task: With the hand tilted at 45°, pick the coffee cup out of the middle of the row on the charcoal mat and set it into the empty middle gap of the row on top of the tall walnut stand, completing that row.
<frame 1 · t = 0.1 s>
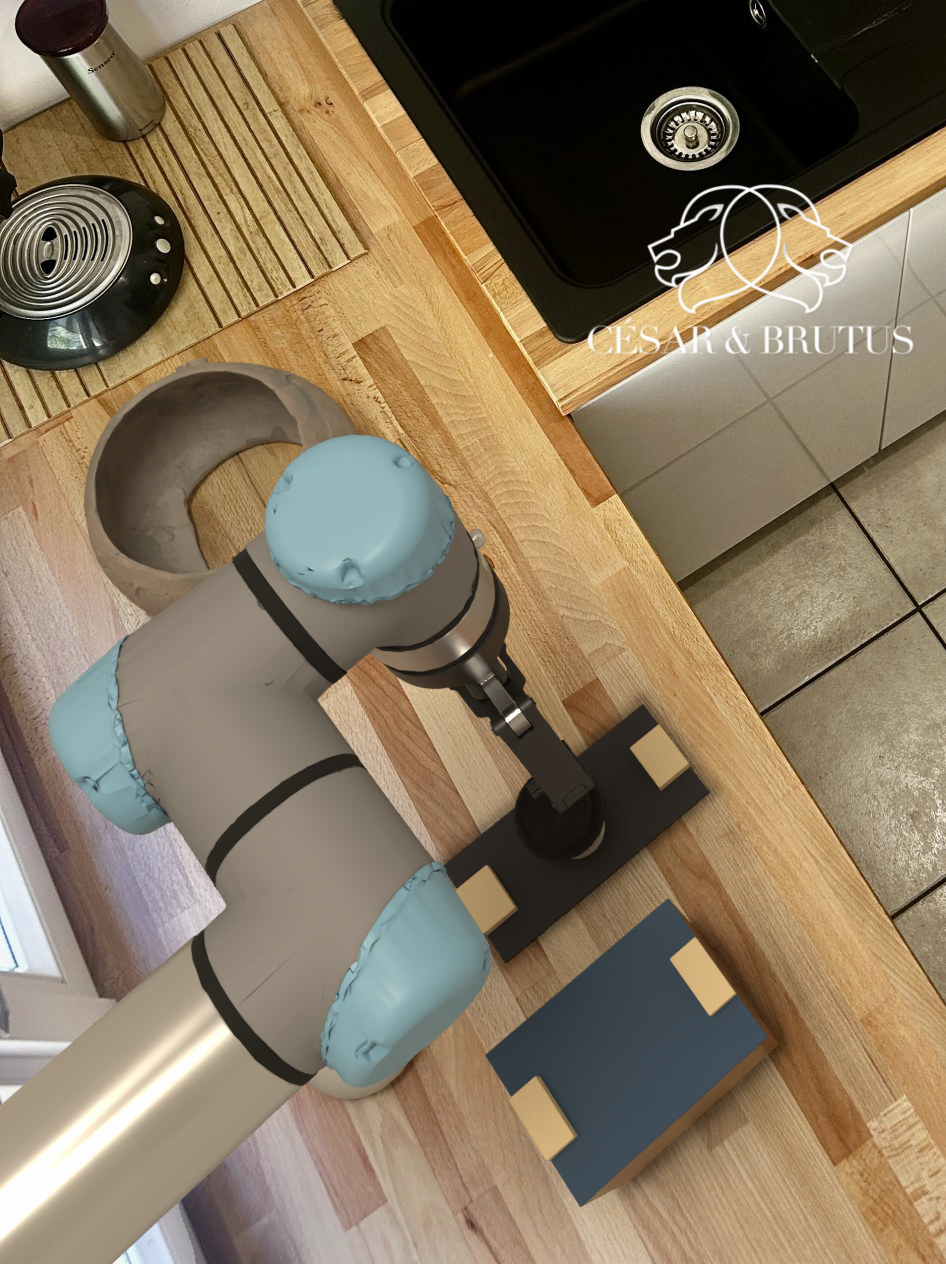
hand: (505, 695, 97), 28 cm above the worktop, tool pointing down, fingers open, 13 cm apart
bowl: (263, 524, 133), on the worktop
tan rounded lumpy piece: (262, 804, 121), on the worktop
coffee cup: (576, 828, 119), resting on mat A
donut: (362, 1024, 113), on the worktop
mat A: (577, 829, 119), on the worktop
stand: (665, 1051, 111), on the worktop
blue slab: (627, 1046, 90), resting on stand
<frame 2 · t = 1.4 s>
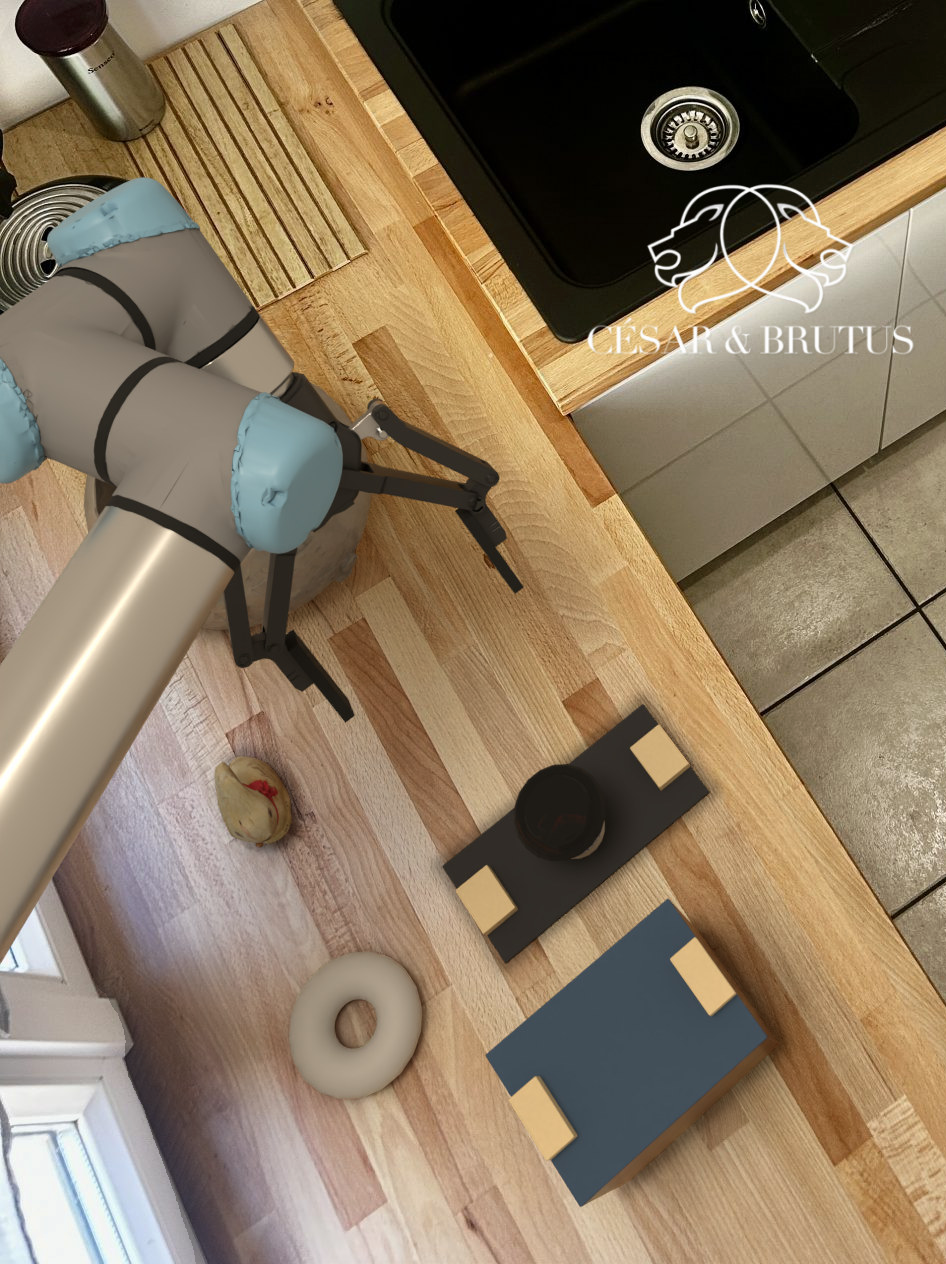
hand: (432, 646, 101), 26 cm above the worktop, tool tilted 45°, fingers open, 13 cm apart
nothing on the worktop moved.
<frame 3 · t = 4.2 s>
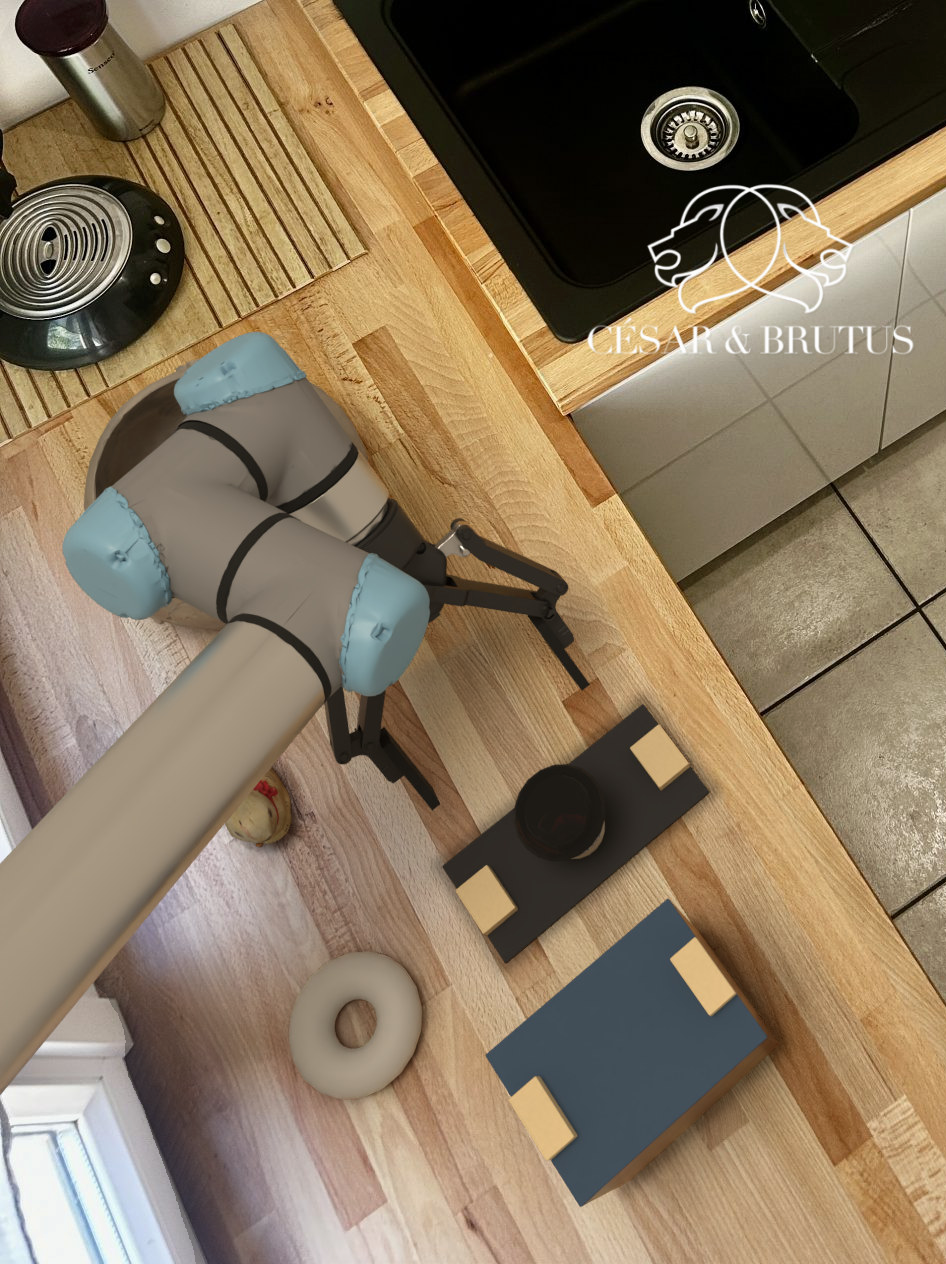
hand: (508, 739, 112), 11 cm above the worktop, tool tilted 45°, fingers open, 13 cm apart
nothing on the worktop moved.
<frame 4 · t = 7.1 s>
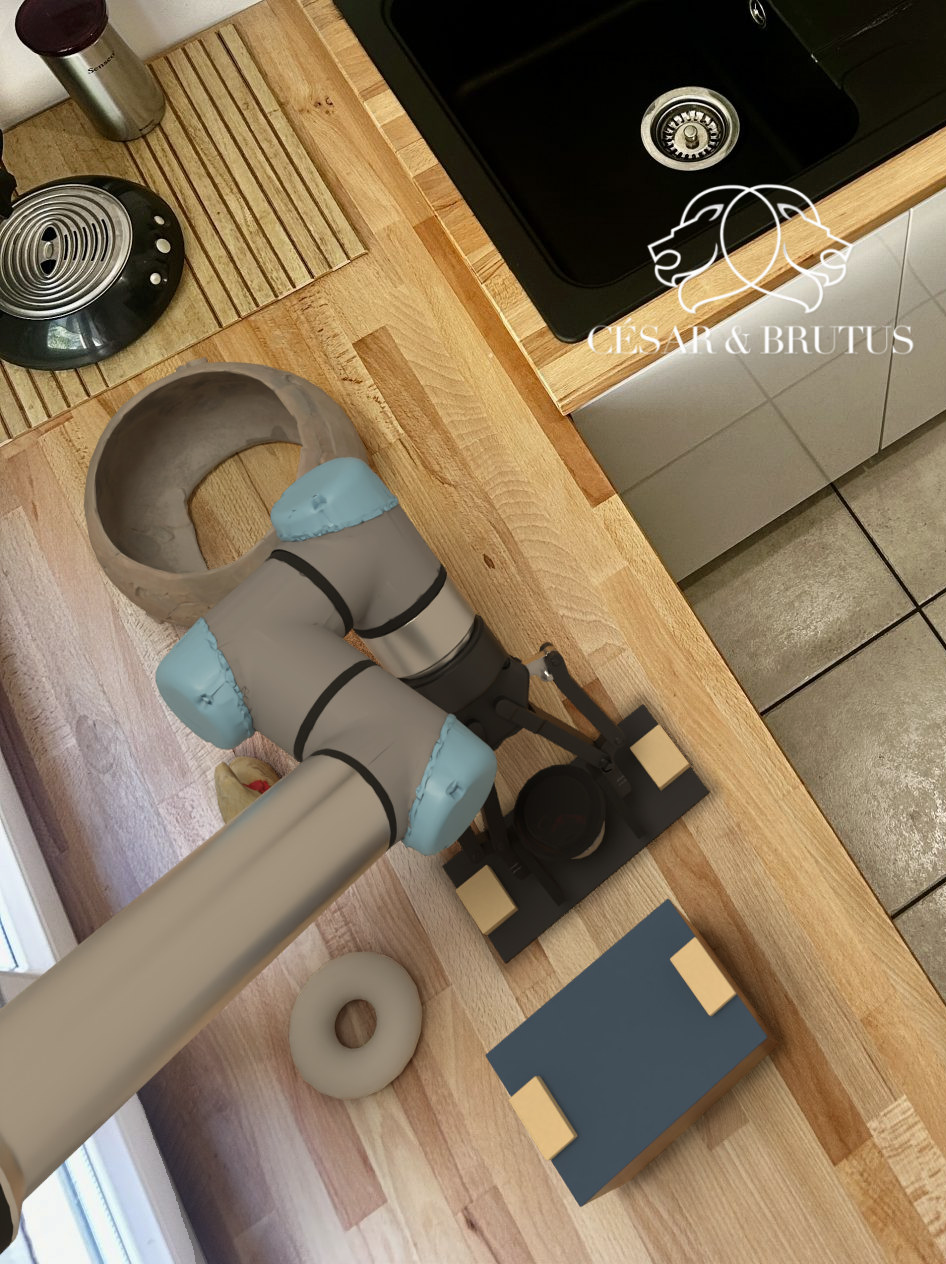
hand: (597, 860, 115), 3 cm above the worktop, tool tilted 45°, fingers closed on coffee cup, 7 cm apart
coffee cup: (576, 828, 119), resting on mat A, touching gripper
everything else where it was.
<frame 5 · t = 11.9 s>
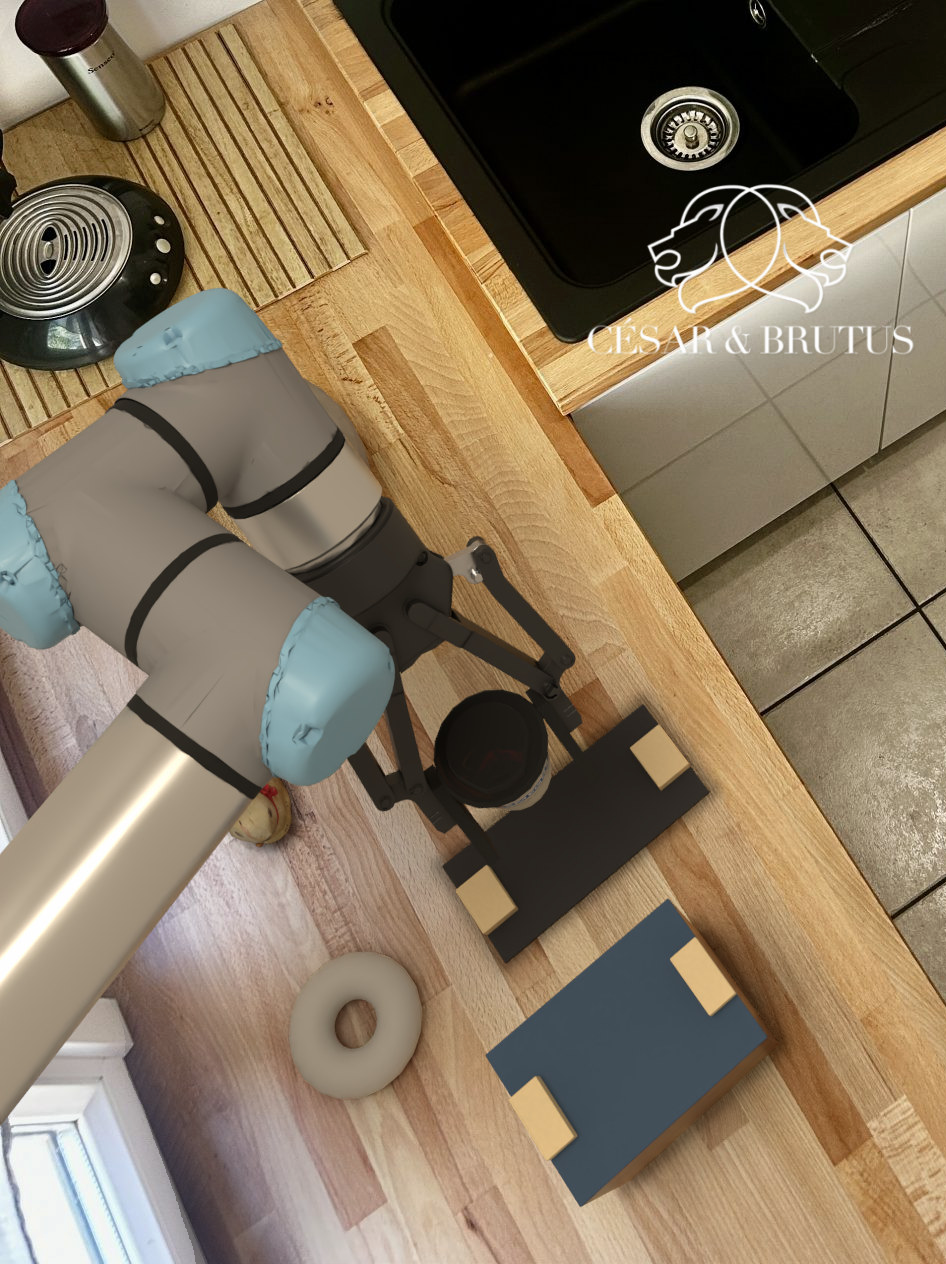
hand: (539, 810, 92), 29 cm above the worktop, tool tilted 45°, fingers closed on coffee cup, 7 cm apart
coffee cup: (517, 774, 97), point 26 cm above the worktop, touching gripper
everything else where it was.
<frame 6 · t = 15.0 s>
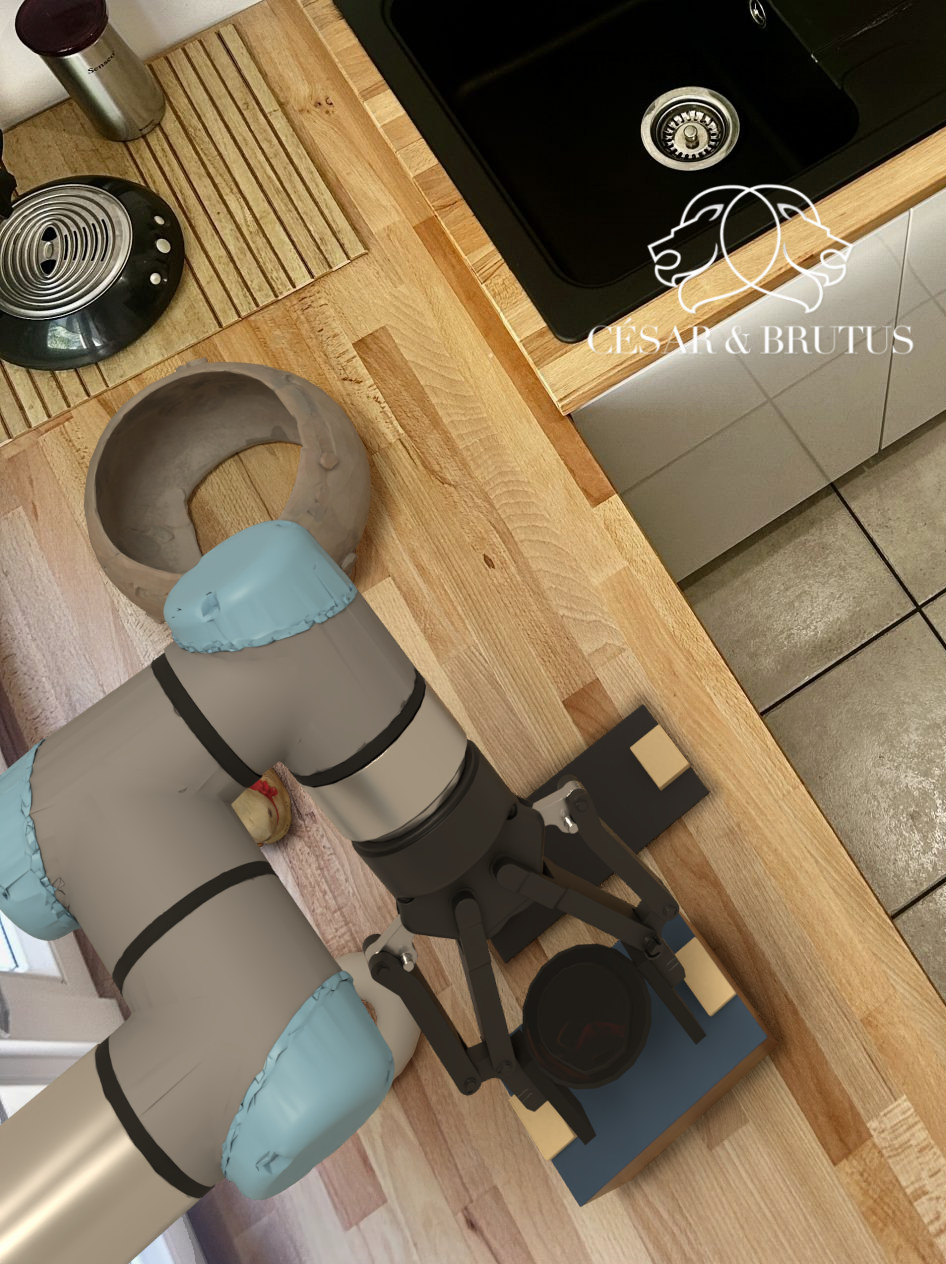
hand: (638, 1073, 82), 32 cm above the worktop, tool tilted 45°, fingers closed on coffee cup, 7 cm apart
coffee cup: (607, 1020, 86), point 29 cm above the worktop, touching gripper
everything else where it was.
when the fingers open (27 cm above the worktop, at t = 17.0 s): coffee cup stays where it is, resting on blue slab.
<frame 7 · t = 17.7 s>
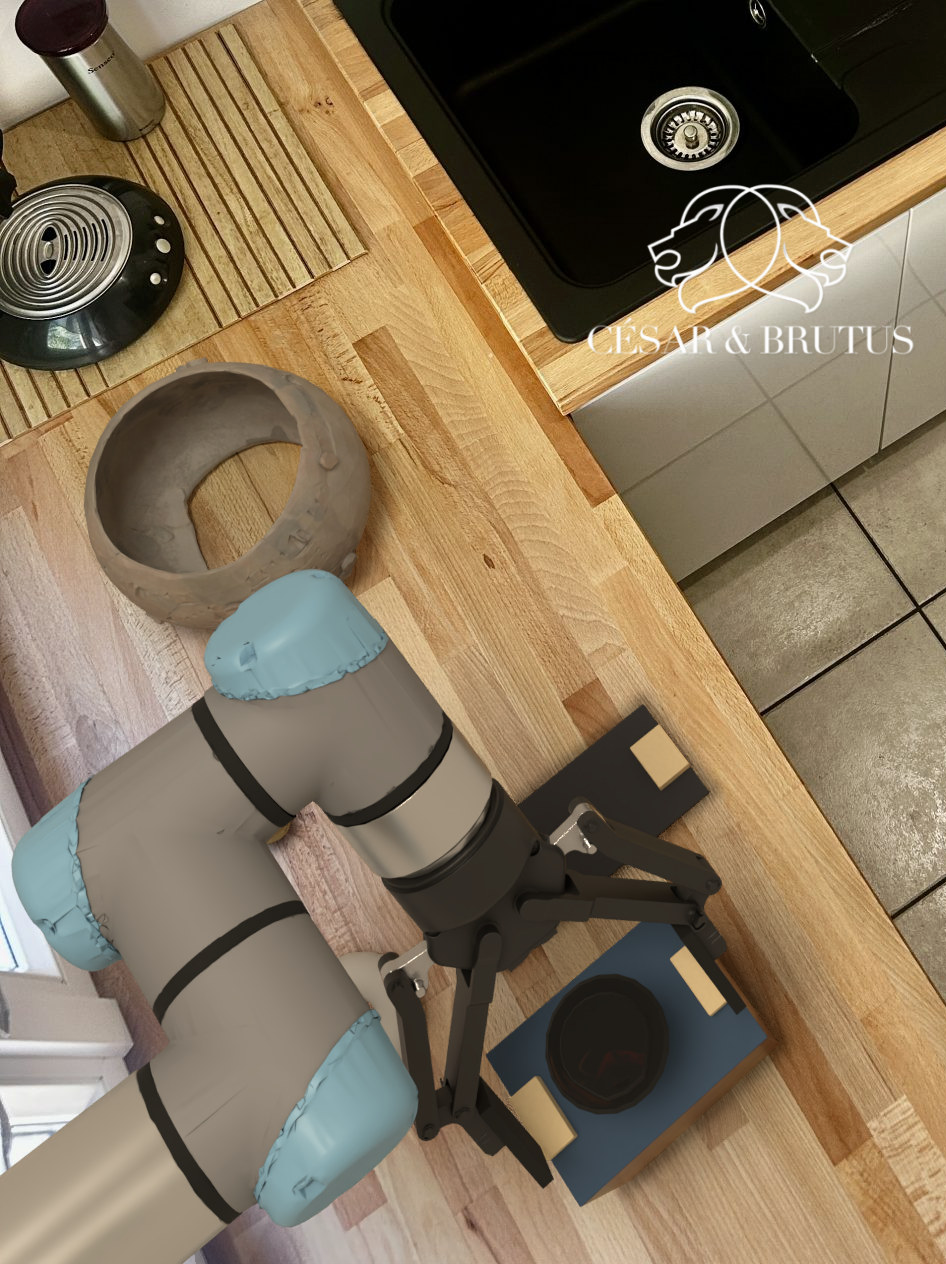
hand: (639, 1081, 85), 29 cm above the worktop, tool tilted 45°, fingers open, 13 cm apart
coffee cup: (625, 1045, 90), point 24 cm above the worktop, touching blue slab
everything else where it was.
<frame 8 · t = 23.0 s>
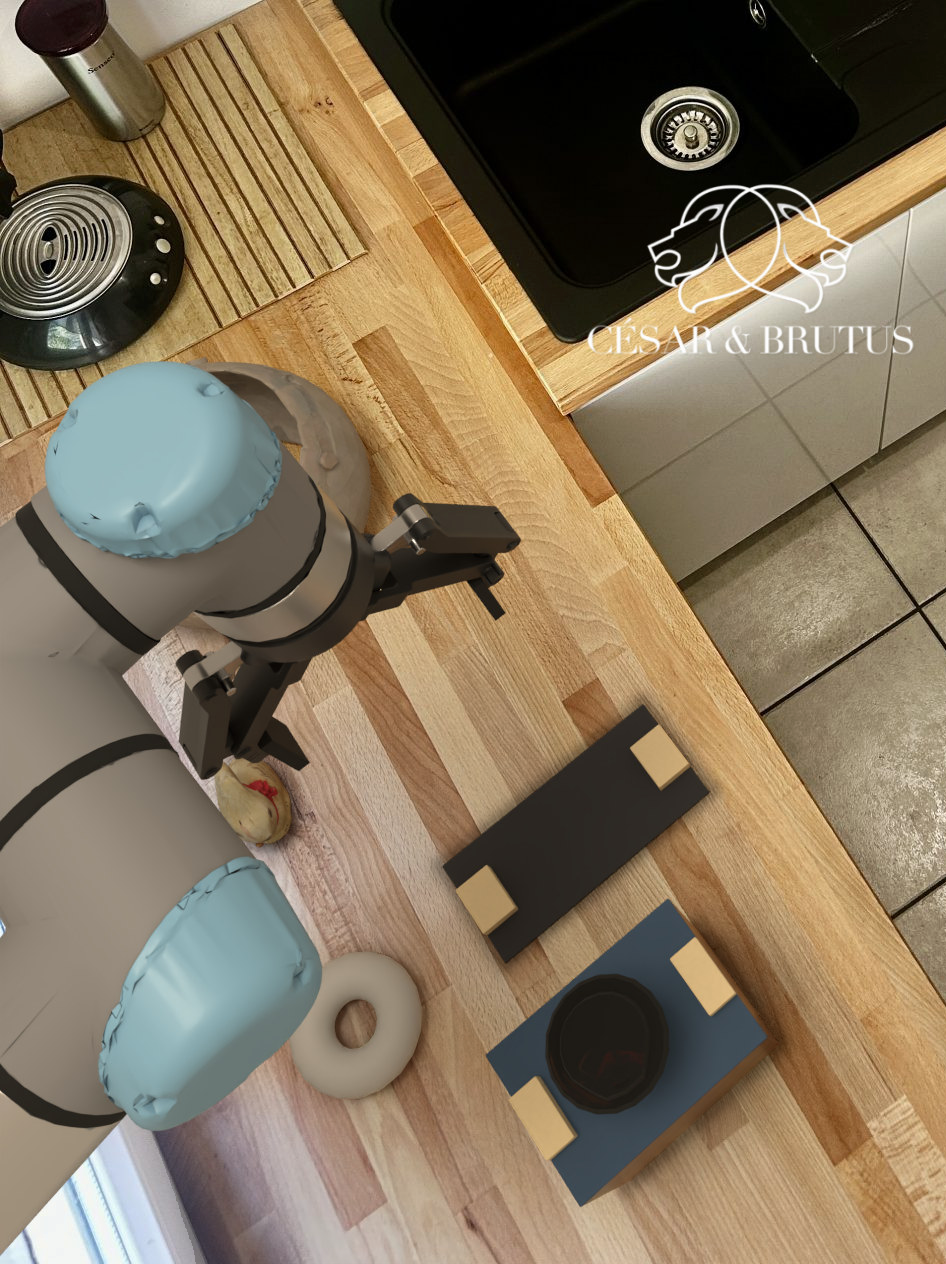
hand: (392, 672, 87), 39 cm above the worktop, tool pointing down, fingers open, 13 cm apart
nothing on the worktop moved.
at the end: coffee cup 0.0 cm off-centre on the blue slab, point 0.3 cm above the blue slab's base; coffee cup tilted 0°; the gripper is holding nothing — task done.
